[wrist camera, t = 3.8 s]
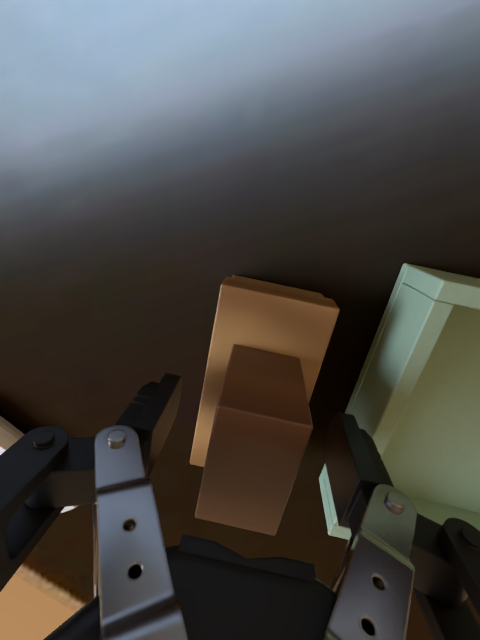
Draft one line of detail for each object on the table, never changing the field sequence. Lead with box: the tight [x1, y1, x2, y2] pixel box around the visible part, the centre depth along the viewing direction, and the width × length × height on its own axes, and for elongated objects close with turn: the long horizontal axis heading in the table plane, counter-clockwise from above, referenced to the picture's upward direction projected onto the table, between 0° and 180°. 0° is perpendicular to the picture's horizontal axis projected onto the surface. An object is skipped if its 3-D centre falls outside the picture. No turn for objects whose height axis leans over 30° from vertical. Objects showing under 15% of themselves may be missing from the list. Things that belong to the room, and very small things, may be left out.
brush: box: [190, 275, 340, 535], centre depth 13 cm, size 10×5×8 cm, turn 169°
